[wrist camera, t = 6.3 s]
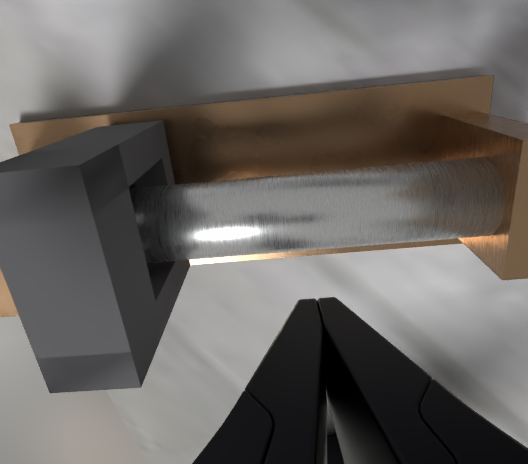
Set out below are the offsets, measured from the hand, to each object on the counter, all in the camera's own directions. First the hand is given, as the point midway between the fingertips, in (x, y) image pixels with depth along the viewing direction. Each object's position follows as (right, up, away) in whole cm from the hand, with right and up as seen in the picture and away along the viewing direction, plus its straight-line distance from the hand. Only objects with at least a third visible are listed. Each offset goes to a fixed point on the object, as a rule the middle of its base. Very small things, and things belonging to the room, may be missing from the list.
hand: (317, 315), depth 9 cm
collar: (-7, +3, +10) cm, 13 cm away
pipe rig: (-2, +4, +11) cm, 12 cm away
